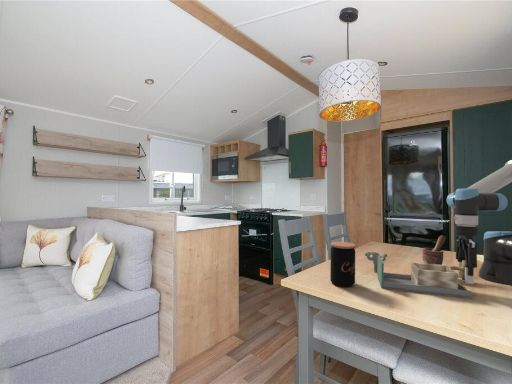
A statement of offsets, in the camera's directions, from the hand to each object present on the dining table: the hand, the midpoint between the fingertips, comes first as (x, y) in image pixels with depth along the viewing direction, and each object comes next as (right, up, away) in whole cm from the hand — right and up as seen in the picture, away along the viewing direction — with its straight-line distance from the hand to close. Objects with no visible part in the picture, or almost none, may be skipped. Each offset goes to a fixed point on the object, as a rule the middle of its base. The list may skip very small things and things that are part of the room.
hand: (465, 280), depth 108 cm
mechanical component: (-26, -5, +25) cm, 37 cm away
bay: (-16, -5, +6) cm, 17 cm away
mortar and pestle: (+1, -5, +21) cm, 22 cm away
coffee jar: (-48, -5, +9) cm, 50 cm away
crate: (-8, -4, +3) cm, 10 cm away
